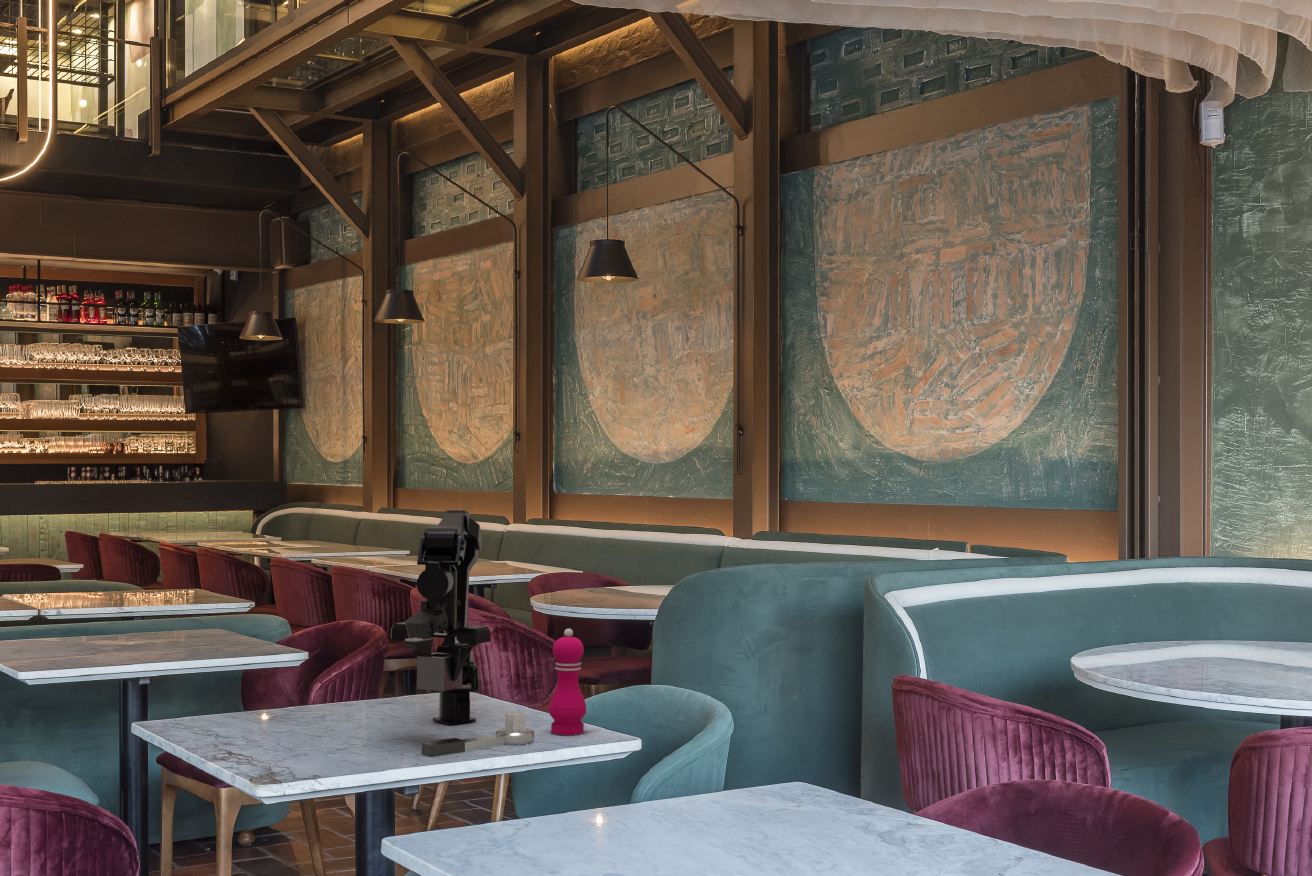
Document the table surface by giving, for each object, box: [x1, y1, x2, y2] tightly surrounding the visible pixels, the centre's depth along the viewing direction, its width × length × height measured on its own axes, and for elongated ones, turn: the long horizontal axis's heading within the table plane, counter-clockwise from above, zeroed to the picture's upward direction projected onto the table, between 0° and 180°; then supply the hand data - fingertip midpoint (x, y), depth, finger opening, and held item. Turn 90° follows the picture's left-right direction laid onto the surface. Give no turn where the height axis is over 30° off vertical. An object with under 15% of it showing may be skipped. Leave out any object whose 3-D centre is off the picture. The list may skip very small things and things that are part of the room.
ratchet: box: [420, 711, 535, 758], centre depth 232 cm, size 7×22×5 cm, turn 131°
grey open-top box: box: [416, 652, 462, 691], centre depth 236 cm, size 6×6×6 cm
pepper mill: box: [548, 628, 587, 736], centre depth 246 cm, size 7×7×20 cm
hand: (439, 679), depth 236 cm, fingers closed on grey open-top box, 6 cm apart
